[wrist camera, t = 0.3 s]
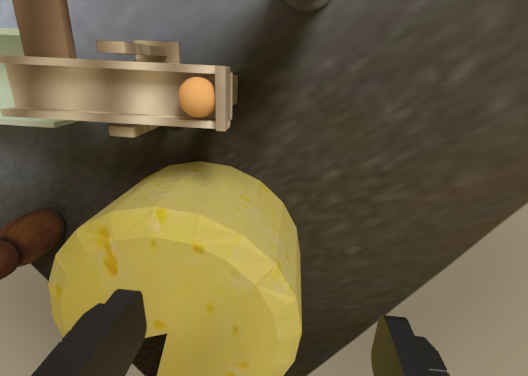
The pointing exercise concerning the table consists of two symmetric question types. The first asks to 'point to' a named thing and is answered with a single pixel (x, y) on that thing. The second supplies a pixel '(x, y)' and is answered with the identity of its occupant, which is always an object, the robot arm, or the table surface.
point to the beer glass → (306, 4)
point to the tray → (10, 44)
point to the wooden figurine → (28, 239)
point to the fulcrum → (147, 53)
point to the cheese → (193, 270)
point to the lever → (99, 79)
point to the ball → (197, 97)
